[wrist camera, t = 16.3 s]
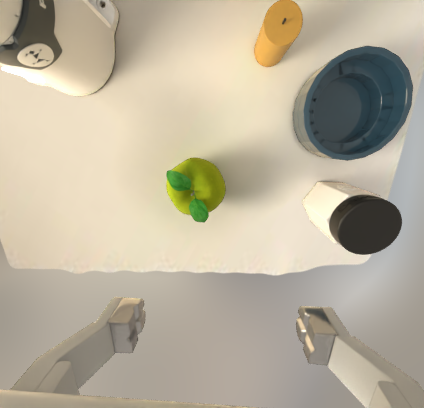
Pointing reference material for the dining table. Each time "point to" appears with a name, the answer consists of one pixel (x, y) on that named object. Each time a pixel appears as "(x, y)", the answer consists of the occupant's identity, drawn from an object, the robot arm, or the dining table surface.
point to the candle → (278, 32)
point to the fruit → (195, 187)
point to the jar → (353, 217)
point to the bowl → (353, 104)
